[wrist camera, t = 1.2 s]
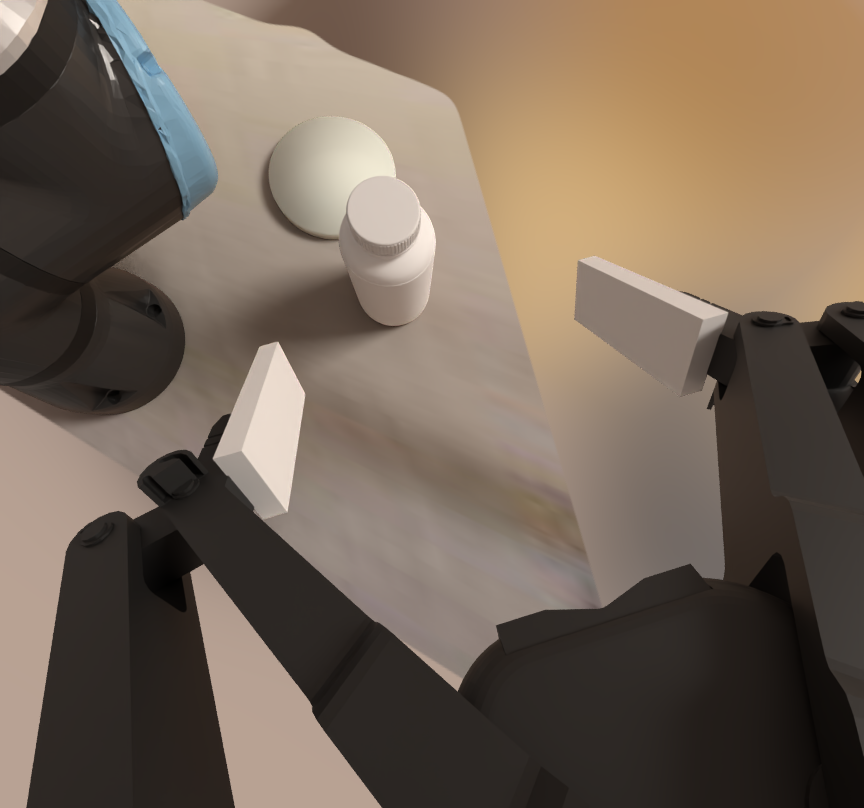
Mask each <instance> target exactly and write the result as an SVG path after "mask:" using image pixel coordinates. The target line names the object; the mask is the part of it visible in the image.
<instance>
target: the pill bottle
mask: <svg viewBox="0 0 864 808" xmlns="http://www.w3.org/2000/svg"><path fill="white" fill-rule="evenodd" d="M435 246H436V239H435V232H434V228H433V225H432V223H431V221H430V219H429V217H428V215H427V213H426V212H425V211H424V210H423V208H422V207H421V206H420V203H419V200H418V198H417V196H416V195H415V192H413V190H412V189H411V188H410V187H409V186H408V185H407V184H406V183H404V182H403V181H401V180H399V179H397V178H394V177H390V176H375V177H371V178H368V179H366V180H364V181H362V182H361V183H360V184H358V185H357V186H356V187H355V189H354V190H353V191H352V192H351V195H350V196H349V198H348V201H347V205H346V214H345V216H344V218H343V220H342V223H341V227H340V232H339V247H340V251H341V255H342V258H343V260H344V263H345V266H346V268H347V271H348V273H349V276H350V279H351V281H352V284H353V287H354V289H355V292H356V294H357V297H358V300H359V302H360V304H361V306H362V308H363V309H364V311H365V312H366V313H367V314H368V315H369V316H370V317H371V318H372V319H374V320H375V321H377V322H379V323H381V324H384V325H389V326H399V325H404V324H407V323H409V322H411V321H413V320H414V319H416V318H417V317H418V316H419V315H420V314H421V313H422V311H423V310H424V308H425V306H426V304H427V302H428V299H429V293H430V285H431V278H432V270H433V262H434V255H435Z"/></svg>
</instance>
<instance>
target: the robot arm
mask: <svg viewBox="0 0 864 808" xmlns="http://www.w3.org/2000/svg"><path fill="white" fill-rule="evenodd" d="M217 181H218V171H217V167H216V163H215V160H214V158H213V155H212V153H211V151H210V149H209V147H208V144H207V142H206V140H205V139H204V137H203V135H202V133H201V131H200V129H199V127H198V125H197V124H196V122H195V120H194V118H193V117H192V115H191V113H190V112H189V110H188V108H187V106H186V105H185V103H184V101H183V100H182V98H181V96H180V95H179V93H178V92H177V90H176V88H175V87H174V85H173V84H172V82H171V81H170V79H169V77H168V76H167V74H166V73H165V72H164V71H163V70H162V69H161V68H160V67H159V66H158V64H157V61H156V59H155V57H154V56H153V54H152V53H151V51H150V50H149V48H148V46H147V44H146V43H145V41H144V39H143V38H142V36H141V34H140V33H139V31H138V30H137V28H136V27H135V25H134V24H133V23H132V21H131V20H130V18H129V17H128V16H127V14H126V13H125V11H124V10H123V9H122V7H121V6H120V4H119V3H118V2H117V0H0V385H4V386H10V387H12V388H15V389H17V390H19V391H22V392H24V393H26V394H28V395H31V396H33V397H35V398H38V399H40V400H42V401H44V402H47V403H49V404H51V405H54V406H56V407H58V408H61V409H65V410H69V411H73V412H78V413H89V414H106V415H108V414H118V413H124V412H127V411H131V410H134V409H136V408H139V407H141V406H143V405H145V404H146V403H148V402H150V401H151V400H153V399H154V398H155V397H157V396H158V395H159V394H160V393H161V392H162V391H163V390H164V389H165V388H166V387H167V386H168V385H169V384H170V382H171V381H172V379H173V378H174V376H175V375H176V373H177V371H178V369H179V367H180V364H181V361H182V358H183V354H184V348H185V333H184V327H183V323H182V320H181V317H180V315H179V312H178V310H177V309H176V307H175V305H174V304H173V303H172V301H171V300H170V299H169V298H168V297H167V296H166V295H165V294H164V293H163V292H162V291H161V290H160V289H158V288H157V287H155V286H154V285H152V284H150V283H148V282H147V281H145V280H143V279H141V278H140V277H138V276H136V275H134V274H132V273H129V272H127V271H124V270H121V269H117V268H113V267H112V266H113V265H115V264H116V263H117V262H119V261H120V260H122V259H123V258H125V257H126V256H128V255H129V254H131V253H132V252H134V251H135V250H137V249H138V248H140V247H141V246H143V245H144V244H146V243H147V242H149V241H150V240H151V239H153V238H154V237H156V236H157V235H159V234H160V233H162V232H163V231H165V230H166V229H168V228H169V227H171V226H172V225H174V224H175V223H177V222H178V221H180V220H184V219H186V217H188V216H189V214H190V211H191V210H192V209H193V208H194V207H196V206H197V205H198V204H199V203H201V202H202V201H203V200H204V199H205V198H207V197H208V196H209V195H210V194H212V192H213V191H214V189H215V187H216V184H217ZM574 319H575V320H576V321H578V322H579V323H580V324H582V325H583V326H584V327H586V328H587V329H588V330H590V331H591V332H593V333H594V334H595V335H597V336H598V337H600V338H601V339H602V340H603V341H605V342H606V343H607V344H609V345H610V346H612V347H613V348H614V349H616V350H617V351H618V352H620V353H621V354H622V355H624V356H625V357H627V358H628V359H629V360H631V361H632V362H633V363H635V364H636V365H637V366H639V367H640V368H642V369H643V370H644V371H646V372H647V373H648V374H650V375H651V376H653V377H654V378H655V379H656V380H658V381H659V382H661V383H662V384H663V385H665V386H666V387H668V388H669V389H670V390H672V391H673V392H674V393H676V394H677V395H678V396H680V397H682V396H685V395H688V394H692V393H695V392H698V391H702V389H703V386H704V383H705V380H706V377H707V374H708V375H709V376H711V377H712V378H714V379H716V380H717V383H716V385H715V388H714V391H713V394H712V396H711V399H710V402H709V404H708V407H707V409H711V408H712V406H713V405H714V406H715V419H716V420H715V421H716V436H717V451H718V466H719V480H720V496H721V511H722V526H723V541H724V556H725V573H724V578H723V580H719V579H711V578H702V577H701V576H700V575H699V573H698V572H697V571H696V570H695V569H694V567H693V566H692V565H691V564H688V565H685V566H682V567H679V568H676V569H672V570H669V571H666V572H663V573H660V574H657V575H653V576H650V577H648V578H644V579H643V580H641V581H640V582H639V583H637V584H636V585H635V586H633V587H632V588H630V589H629V590H628V591H626V592H625V593H624V594H622V595H621V596H620V597H618V598H617V599H616V600H614V601H613V602H611V603H610V604H609V605H607V606H606V607H604V608H600V609H570V610H543V611H540V612H537V613H534V614H531V615H528V616H524V617H521V618H518V619H515V620H512V621H509V622H506V623H502V624H499V625H496V627H497V632H498V637H499V639H498V640H497V641H496V642H494V643H493V644H492V645H490V646H489V647H488V648H487V649H486V650H485V651H484V652H483V653H482V654H481V655H480V656H479V657H478V658H477V659H476V661H475V662H474V663H473V664H472V666H471V667H470V669H469V670H468V672H467V674H466V675H465V677H464V679H463V681H462V683H461V685H460V688H459V690H458V692H457V691H456V690H455V689H454V688H453V687H452V686H451V685H450V684H448V683H447V682H446V681H445V680H444V679H443V678H442V677H441V676H439V675H438V674H437V673H436V672H435V671H434V670H433V669H432V668H431V667H429V666H428V665H427V664H426V663H425V662H424V661H423V660H421V658H419V657H418V656H417V655H416V654H415V653H414V652H413V651H411V650H410V649H409V648H408V647H407V646H406V645H405V644H404V643H403V642H402V641H400V640H399V639H398V638H397V637H396V636H395V635H394V634H393V633H391V632H390V631H389V630H388V629H387V628H385V627H384V626H383V625H381V624H380V623H378V622H374V621H373V620H372V619H371V618H369V617H368V616H367V615H366V614H365V613H364V612H363V611H362V610H361V609H359V608H358V607H357V606H356V605H355V604H354V603H353V602H352V601H351V600H349V599H348V598H347V597H346V596H345V595H344V594H343V593H342V592H341V591H340V590H338V589H337V588H336V587H335V586H334V585H333V584H332V583H331V582H330V581H329V580H327V579H326V578H325V577H324V576H323V575H322V574H321V573H320V572H319V571H317V570H316V569H315V568H314V567H313V566H312V565H311V564H310V563H309V562H308V561H306V560H305V559H304V558H303V557H302V556H301V555H300V554H299V553H298V552H297V551H295V550H294V549H293V548H292V547H291V546H290V545H289V544H288V543H287V542H285V541H284V540H283V539H282V538H281V537H280V536H279V535H278V534H277V533H276V532H274V531H273V530H272V529H271V528H270V527H269V526H268V525H267V524H266V523H264V522H263V521H262V520H261V519H260V518H259V517H258V516H257V515H256V514H255V513H253V510H254V509H255V510H256V511H257V513H258V514H259V515H260V516H261V517H262V519H266V518H270V517H273V516H277V515H280V514H283V513H287V512H288V505H289V499H290V492H291V486H292V479H293V472H294V466H295V459H296V452H297V446H298V439H299V433H300V426H301V419H302V413H303V406H304V399H305V393H304V391H303V389H302V387H301V385H300V383H299V381H298V379H297V377H296V375H295V373H294V371H293V370H292V368H291V366H290V364H289V362H288V360H287V358H286V356H285V354H284V352H283V350H282V348H281V346H280V344H279V342H274V343H270V344H267V345H263V346H260V347H259V349H258V352H257V354H256V356H255V359H254V361H253V364H252V366H251V368H250V371H249V373H248V376H247V378H246V380H245V383H244V385H243V388H242V390H241V392H240V395H239V397H238V400H237V402H236V404H235V407H234V409H233V411H232V413H231V414H227V415H224V416H222V417H221V418H220V419H219V420H218V422H217V423H216V424H215V425H214V426H213V427H212V429H211V431H210V433H209V436H208V439H207V440H206V442H205V444H204V448H202V451H201V453H200V455H199V457H198V459H197V458H196V457H195V456H194V455H193V453H192V452H190V451H188V450H177V451H174V452H172V453H169V454H166V455H165V456H163V457H161V458H159V459H157V460H156V461H155V462H153V463H152V464H151V465H149V466H148V467H147V468H146V469H145V470H144V471H143V472H142V473H141V475H140V477H139V479H138V481H137V484H138V488H139V489H141V490H142V491H143V492H144V493H145V494H146V495H147V496H148V497H149V498H150V499H152V500H153V501H154V502H155V503H156V504H157V505H158V506H159V507H157V508H155V509H153V510H151V511H149V512H147V513H145V514H143V515H141V516H140V517H137V518H135V519H134V520H133V519H132V518H130V517H129V516H128V515H127V514H126V513H124V512H120V511H117V512H112V513H108V514H106V515H104V516H102V517H99V518H97V519H96V520H94V521H93V522H91V523H89V524H88V525H86V526H85V527H84V528H83V529H81V530H80V531H79V532H78V533H77V535H76V536H75V537H74V538H73V540H72V541H71V542H70V544H69V546H68V548H67V551H66V556H65V563H64V569H63V576H62V582H61V588H60V595H59V602H58V607H57V614H56V621H55V627H54V633H53V640H52V646H51V653H50V659H49V666H48V672H47V678H46V685H45V691H44V698H43V704H42V711H41V718H40V724H39V730H38V736H37V743H36V749H35V756H34V763H33V769H32V775H31V783H30V788H29V796H28V802H27V807H26V808H235V806H234V801H233V795H232V790H231V785H230V779H229V774H228V769H227V764H226V758H225V753H224V748H223V742H222V737H221V732H220V727H219V721H218V716H217V711H216V706H215V701H214V696H213V690H212V685H211V679H210V674H209V669H208V664H207V659H206V653H205V648H204V643H203V637H202V632H201V627H200V622H199V616H198V611H197V606H196V601H195V596H194V590H193V585H192V580H191V574H190V572H191V571H192V570H194V569H195V568H197V567H199V566H201V565H203V564H205V566H206V567H207V569H208V570H209V571H210V572H211V574H212V575H213V576H214V578H215V579H216V580H217V581H218V583H219V584H220V585H221V586H222V588H223V589H224V591H225V592H226V593H227V594H228V596H229V597H230V598H231V599H232V601H233V602H234V604H235V605H236V606H237V607H238V609H239V610H240V611H241V613H242V614H243V615H244V616H245V618H246V619H247V620H248V621H249V623H250V624H251V625H252V627H253V628H254V629H255V631H256V632H257V633H258V634H259V636H260V637H261V638H262V640H263V641H264V642H265V644H266V645H267V646H268V648H269V649H270V650H271V651H272V653H273V654H274V655H275V657H276V658H277V659H278V660H279V662H280V663H281V664H282V666H283V667H284V668H285V669H286V671H287V672H288V673H289V675H290V676H291V677H292V679H293V680H294V681H295V683H296V684H297V685H298V686H299V688H300V689H301V690H302V692H303V693H304V694H305V695H306V697H307V698H308V700H309V701H310V703H311V705H312V712H313V714H314V716H315V718H316V719H317V721H318V723H319V724H320V725H321V727H322V728H323V730H324V731H325V733H326V734H327V735H328V737H329V738H330V739H331V740H332V742H333V743H334V744H335V746H336V747H337V748H338V750H339V751H340V752H341V754H342V755H343V756H344V757H345V759H346V760H347V762H348V763H349V764H350V766H351V767H352V768H353V770H354V771H355V772H356V774H357V775H358V776H359V777H360V779H361V780H362V782H363V783H364V784H365V786H366V787H367V788H368V790H369V791H370V792H371V794H372V795H373V796H374V798H375V799H376V800H377V802H378V803H379V804H380V805H381V807H382V808H864V303H863V302H859V301H855V302H842V303H835V304H832V305H830V306H827V308H826V309H825V312H824V313H823V315H822V317H821V319H820V321H814V322H804V323H799V322H798V321H797V320H796V319H795V318H793V317H791V316H789V315H785V314H781V313H777V312H767V311H766V312H765V311H762V312H751V313H747V314H745V315H743V316H742V315H740V314H737V313H735V312H733V311H730V310H728V309H725V308H723V307H721V306H718V305H716V304H713V303H712V304H710V302H709V301H706V300H704V299H701V300H700V298H699V297H697V296H694V295H692V294H689V293H686V292H681V291H677V290H674V289H672V288H670V287H667V286H665V285H662V284H660V283H658V282H655V281H653V280H651V279H648V278H646V277H643V276H641V275H639V274H636V273H634V272H632V271H629V270H627V269H625V268H622V267H620V266H618V265H615V264H613V263H611V262H608V261H606V260H604V259H601V258H599V257H596V256H592V257H588V258H584V259H581V260H578V267H577V284H576V301H575V318H574ZM860 370H861V371H862V372H861V378H860V380H859V383H857V382H856V381H855V378H856V377H857V375H858V374H859V372H860Z"/></svg>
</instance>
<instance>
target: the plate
mask: <svg viewBox="0 0 864 808" xmlns="http://www.w3.org/2000/svg"><path fill="white" fill-rule="evenodd" d="M268 175H269V184H270V189H271V192H272V194H273V197H274V199H275V201H276V203H277V204H278V206H279V208H280V209H281V211H282V212H283V214H284V215H285V217H286V218H287V219H288V220H289V221H290V222H291V223H292V224H293V225H295V226H296V227H297V228H299V229H300V230H302V231H304V232H305V233H308V234H310V235H312V236H315V237H319V238H324V239H333V240H338V239H339V232H340V227H341V223H342V220H343V218H344V216H345V214H346V205H347V201H348V198H349V196H350V195H351V192H352V191H353V190H354V189H355V187H356V186H357V185H358V184H360V183H361V182H362V181H364V180H366V179H368V178H371V177H375V176H390V177H394V178H396V173H395V165H394V161H393V157H392V155H391V153H390V150H389V149H388V147H387V145H386V144H385V142H384V141H383V140H382V138H381V137H380V136H379V135H378V134H377V133H376V132H374V131H373V130H372V129H371V128H369V127H368V126H366V125H364V124H363V123H360V122H358V121H356V120H353V119H350V118H345V117H340V116H323V117H317V118H313V119H310V120H307V121H305V122H302V123H300V124H298V125H297V126H295V127H294V128H292V129H291V130H290V131H289V132H287V133H286V134H285V135H284V136H283V137H282V139H281V140H280V141H279V143H278V144H277V146H276V147H275V149H274V151H273V154H272V157H271V159H270V164H269V174H268Z"/></svg>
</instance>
